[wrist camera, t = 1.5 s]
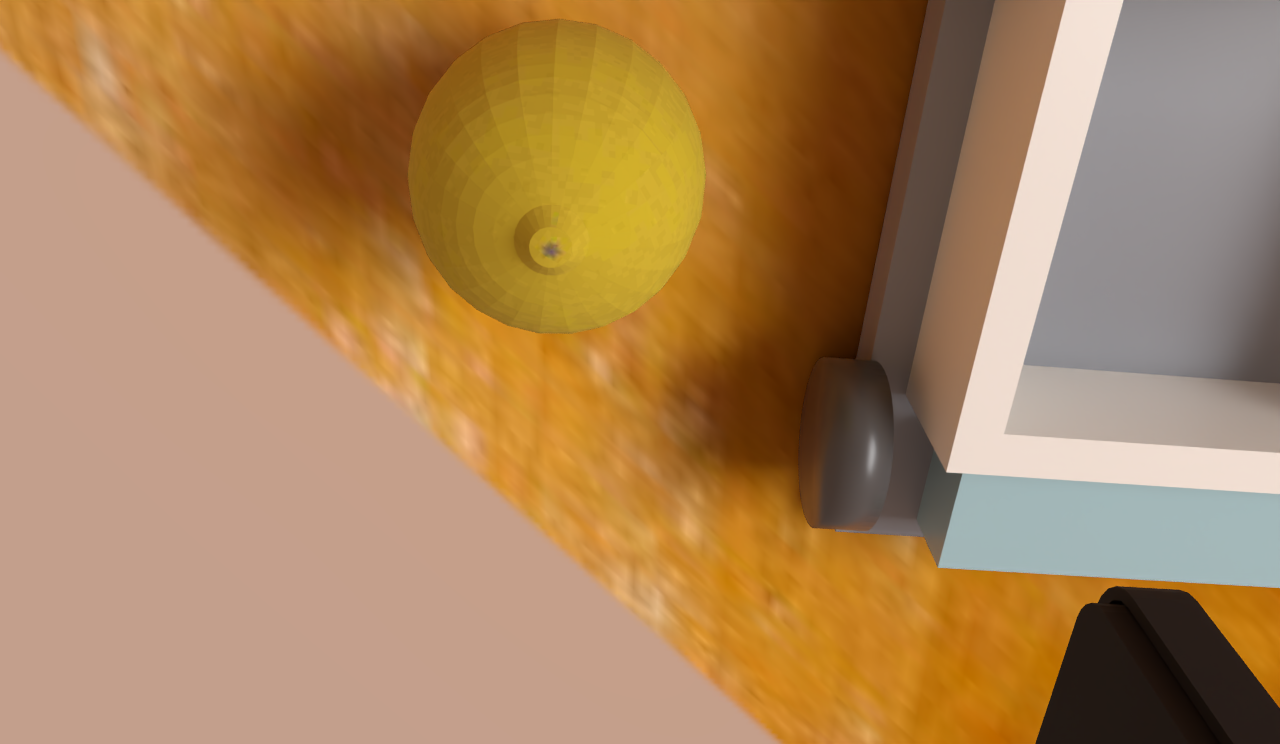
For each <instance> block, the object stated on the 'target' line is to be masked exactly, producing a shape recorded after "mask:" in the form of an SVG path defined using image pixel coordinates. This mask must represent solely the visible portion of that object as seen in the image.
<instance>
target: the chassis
mask: <svg viewBox="0 0 1280 744" xmlns="http://www.w3.org/2000/svg"><path fill="white" fill-rule="evenodd" d="M798 466H799V487H800V496H801V502H802V508H803V512H804V515H805V518H806V520H807V522H808V524H809V525H810V526H811V527H812V528H823V529H835V531H837V532H854V533H870V534H886V535H903V536H919V537H924V538H925V540H926V542H927V544H928V547H929V549H930V551H931V553H932V555H933V558H934V560H935V562H936V564H937V567H938V568H954V569H971V570H988V571H1005V572H1022V573H1039V574H1055V575H1072V576H1089V577H1106V578H1123V579H1140V580H1157V581H1174V582H1191V583H1208V584H1225V585H1242V586H1259V587H1276V588H1280V0H928V4H927V9H926V14H925V19H924V24H923V29H922V34H921V39H920V44H919V49H918V54H917V59H916V64H915V69H914V74H913V79H912V84H911V89H910V94H909V99H908V104H907V109H906V114H905V119H904V124H903V128H902V133H901V138H900V143H899V148H898V153H897V158H896V163H895V168H894V173H893V178H892V183H891V188H890V193H889V198H888V203H887V208H886V213H885V218H884V223H883V228H882V233H881V238H880V243H879V248H878V253H877V257H876V262H875V267H874V272H873V277H872V282H871V287H870V292H869V297H868V302H867V307H866V312H865V317H864V322H863V327H862V332H861V337H860V342H859V347H858V352H857V357H856V359H846V358H832V357H822V358H820V359H819V360H818V361H817V362H816V364H815V366H814V368H813V370H812V372H811V375H810V378H809V381H808V384H807V388H806V393H805V397H804V403H803V409H802V416H801V424H800V435H799V457H798Z"/></svg>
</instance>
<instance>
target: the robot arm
mask: <svg viewBox="0 0 1280 744" xmlns="http://www.w3.org/2000/svg"><path fill="white" fill-rule="evenodd" d="M1036 744H1280V708H1279V707H1278V705H1277V704H1276V703H1275V702H1274V700H1273V699H1272V698H1271V696H1270V695H1269V694H1268V693H1267V691H1266V690H1265V689H1264V687H1263V686H1262V685H1261V683H1260V682H1259V681H1258V680H1257V678H1256V677H1255V676H1254V674H1253V673H1252V672H1251V670H1250V669H1249V668H1248V667H1247V665H1246V664H1245V663H1244V661H1243V660H1242V659H1241V657H1240V656H1239V655H1238V654H1237V652H1236V651H1235V650H1234V648H1233V647H1232V646H1231V645H1230V643H1229V642H1228V641H1227V639H1226V638H1225V637H1224V635H1223V634H1222V633H1221V632H1220V630H1219V629H1218V628H1217V626H1216V625H1215V624H1214V622H1213V621H1212V620H1211V619H1210V617H1209V616H1208V615H1207V613H1206V612H1205V611H1204V609H1203V608H1202V607H1201V606H1200V604H1199V603H1198V602H1197V601H1196V600H1195V599H1194V598H1193V597H1192V596H1191V595H1190V594H1189V593H1187V592H1184V591H1181V590H1173V589H1155V588H1137V587H1119V586H1116V587H1112V588H1109V589H1107V591H1106V592H1105V593H1104V594H1103V595H1102V596H1101V598H1100V600H1099V602H1098V603H1090V604H1086V605H1085V606H1084V607H1083V608H1082V609H1081V611H1080V613H1079V615H1078V617H1077V620H1076V623H1075V626H1074V629H1073V632H1072V635H1071V638H1070V641H1069V644H1068V647H1067V650H1066V653H1065V656H1064V659H1063V662H1062V665H1061V668H1060V671H1059V674H1058V677H1057V680H1056V683H1055V686H1054V689H1053V692H1052V695H1051V698H1050V701H1049V704H1048V707H1047V710H1046V713H1045V716H1044V719H1043V722H1042V725H1041V728H1040V731H1039V734H1038V737H1037V740H1036Z"/></svg>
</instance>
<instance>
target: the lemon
mask: <svg viewBox="0 0 1280 744" xmlns="http://www.w3.org/2000/svg"><path fill="white" fill-rule="evenodd" d="M407 176H408V185H409V192H410V200H411V207H412V215H413V219H414V222H415V225H416V227H417V230H418V232H419V235H420V237H421V240H422V242H423V245H424V247H425V250H426V252H427V255H428V257H429V258H430V260H431V261H432V263H433V264H434V266H435V267H436V268H437V270H438V271H439V272H440V274H441V275H442V277H443V278H444V279H445V281H446V282H447V283H448V285H449V286H450V288H452V289H453V290H454V291H455V292H456V293H458V294H459V295H460V296H461V297H462V298H464V299H465V300H466V301H467V302H468V303H470V304H471V305H472V306H473V307H474V308H476V309H477V310H478V311H480V312H482V313H484V314H486V315H488V316H490V317H492V318H494V319H496V320H498V321H500V322H502V323H504V324H506V325H508V326H512V327H516V328H520V329H524V330H528V331H532V332H536V333H564V334H571V333H576V332H581V331H585V330H590V329H594V328H599V327H603V326H606V325H608V324H610V323H612V322H614V321H616V320H618V319H620V318H622V317H624V316H626V315H628V314H631V313H633V312H635V311H636V310H637V309H638V308H640V307H641V306H642V305H643V304H644V303H646V302H647V301H648V300H649V299H650V298H652V297H653V296H654V295H655V294H656V293H657V292H659V291H660V290H661V289H662V288H663V287H664V285H665V284H666V283H667V281H668V280H669V278H670V277H671V276H672V274H673V273H674V272H675V270H676V269H677V267H678V266H679V265H680V263H681V262H682V261H683V259H684V258H685V256H686V254H687V251H688V249H689V246H690V244H691V241H692V239H693V236H694V234H695V231H696V229H697V226H698V224H699V221H700V218H701V214H702V206H703V197H704V189H705V180H706V169H705V162H704V155H703V148H702V140H701V133H700V131H699V128H698V126H697V123H696V121H695V118H694V116H693V114H692V111H691V109H690V106H689V104H688V101H687V99H686V97H685V94H684V93H683V92H682V90H681V89H680V88H679V86H678V85H677V84H676V83H675V81H674V80H673V79H672V77H671V76H670V75H669V73H668V72H667V71H666V69H665V68H664V67H663V66H662V64H661V63H660V62H659V61H657V60H656V59H655V58H654V57H652V56H651V55H650V54H648V53H647V52H646V51H645V50H643V49H642V48H641V47H639V46H638V45H637V44H636V43H634V42H633V41H632V40H631V39H628V38H626V37H624V36H621V35H619V34H617V33H615V32H612V31H610V30H608V29H606V28H603V27H601V26H599V25H596V24H590V23H584V22H577V21H571V20H564V19H553V20H544V21H534V22H525V23H521V24H518V25H515V26H513V27H510V28H508V29H505V30H502V31H500V32H497V33H494V34H492V35H489V36H487V37H486V38H484V39H483V40H481V41H480V42H479V43H477V44H476V45H475V46H473V47H472V48H471V49H469V50H468V51H467V52H465V53H464V54H462V55H461V56H460V57H458V58H457V59H456V60H455V61H454V62H453V63H452V65H451V66H450V67H449V68H448V70H447V71H446V72H445V73H444V75H443V76H442V77H441V79H440V80H439V81H438V82H437V84H436V85H435V86H434V87H433V89H432V90H431V91H430V93H429V95H428V97H427V100H426V102H425V104H424V107H423V109H422V111H421V114H420V116H419V118H418V121H417V123H416V125H415V128H414V131H413V135H412V143H411V150H410V158H409V165H408V174H407Z"/></svg>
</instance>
